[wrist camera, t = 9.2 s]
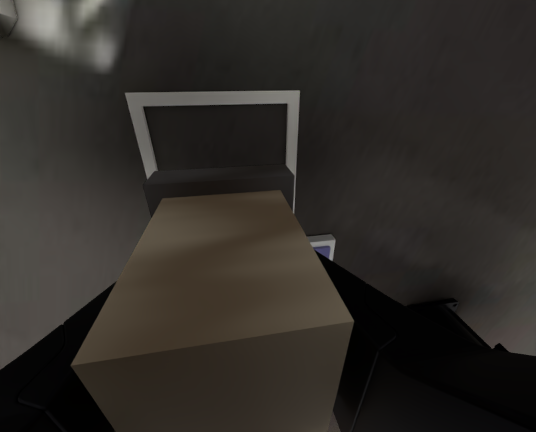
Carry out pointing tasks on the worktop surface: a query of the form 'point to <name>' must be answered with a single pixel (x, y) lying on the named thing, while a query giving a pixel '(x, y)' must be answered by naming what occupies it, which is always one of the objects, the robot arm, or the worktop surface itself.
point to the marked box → (212, 98)
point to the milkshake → (7, 17)
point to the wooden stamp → (219, 313)
